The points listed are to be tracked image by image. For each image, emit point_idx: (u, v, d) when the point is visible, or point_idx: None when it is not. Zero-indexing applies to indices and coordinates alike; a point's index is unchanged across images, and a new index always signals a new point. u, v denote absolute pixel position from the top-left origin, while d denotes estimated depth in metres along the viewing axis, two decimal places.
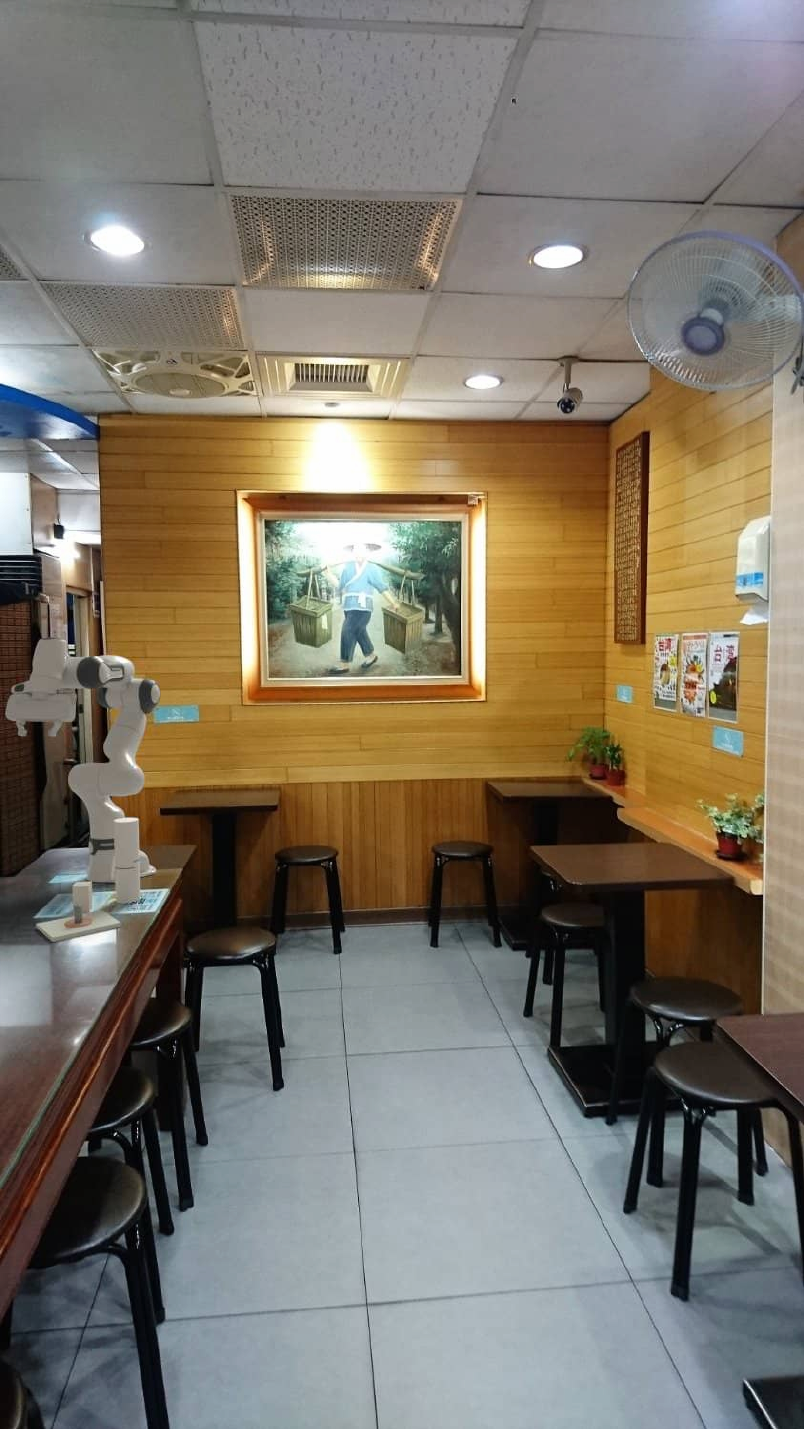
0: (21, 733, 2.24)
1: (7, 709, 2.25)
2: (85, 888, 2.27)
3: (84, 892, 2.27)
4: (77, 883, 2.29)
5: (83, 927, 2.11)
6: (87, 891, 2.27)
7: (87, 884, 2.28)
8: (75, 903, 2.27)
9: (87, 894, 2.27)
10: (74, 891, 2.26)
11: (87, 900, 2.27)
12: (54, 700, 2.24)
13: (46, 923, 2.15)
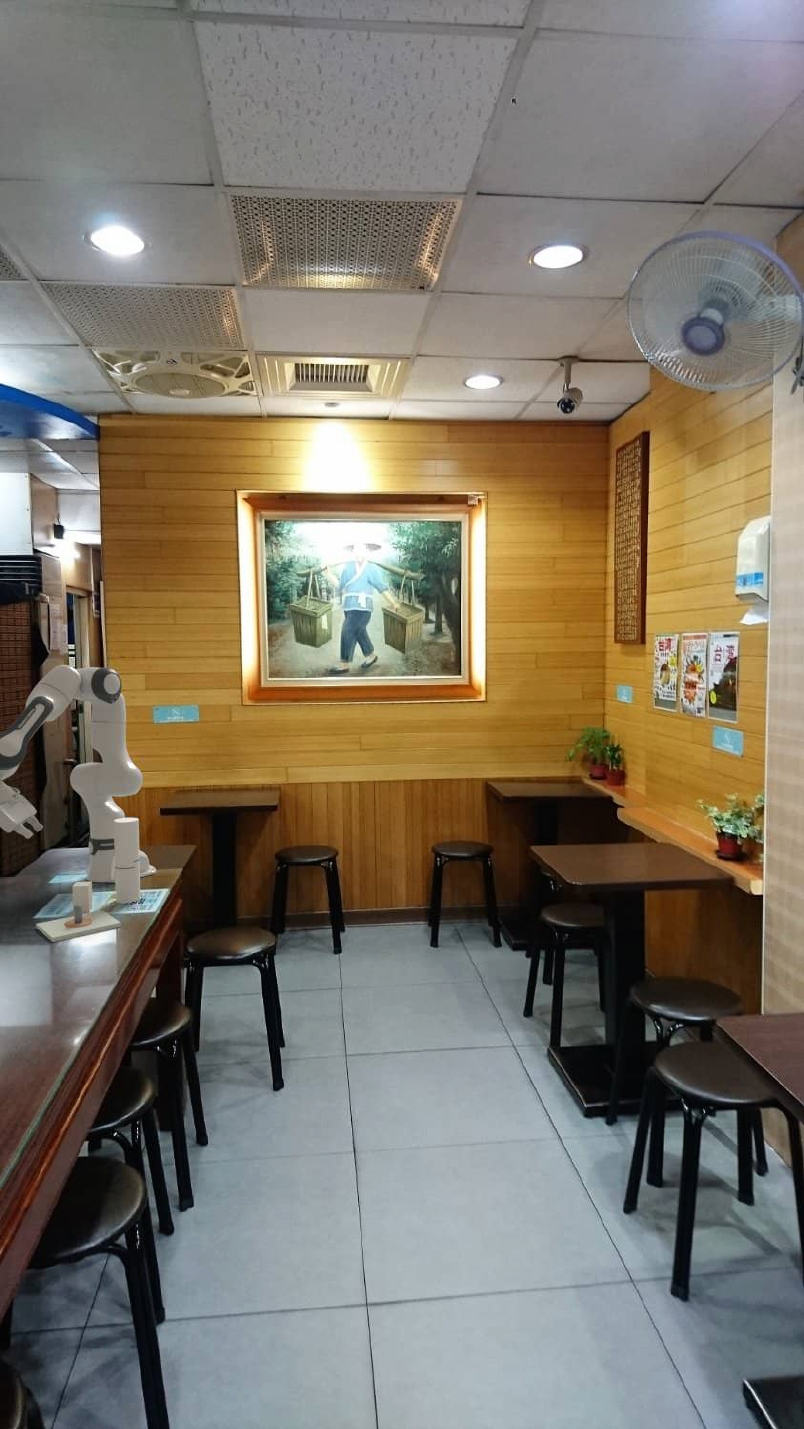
0: None
1: None
2: (85, 888, 2.27)
3: (84, 892, 2.27)
4: (77, 883, 2.29)
5: (83, 927, 2.11)
6: (87, 891, 2.27)
7: (87, 884, 2.28)
8: (75, 903, 2.27)
9: (87, 894, 2.27)
10: (74, 891, 2.26)
11: (87, 900, 2.27)
12: None
13: (46, 923, 2.15)
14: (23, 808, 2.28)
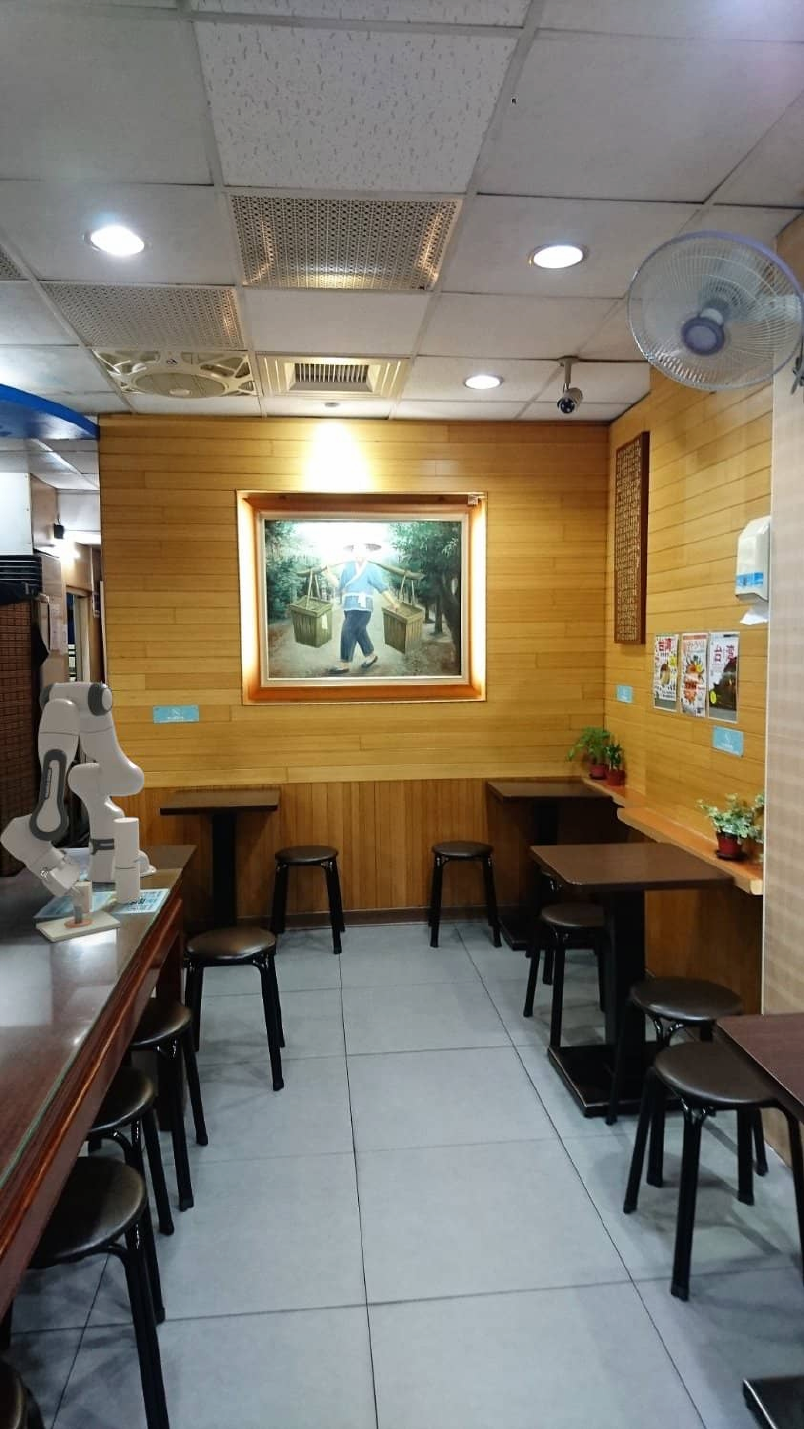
0: None
1: None
2: (85, 888, 2.27)
3: (84, 892, 2.27)
4: (77, 883, 2.29)
5: (83, 927, 2.11)
6: (87, 891, 2.27)
7: (87, 884, 2.28)
8: (75, 903, 2.27)
9: (87, 894, 2.27)
10: None
11: (87, 900, 2.27)
12: None
13: (46, 923, 2.15)
14: (72, 870, 2.31)
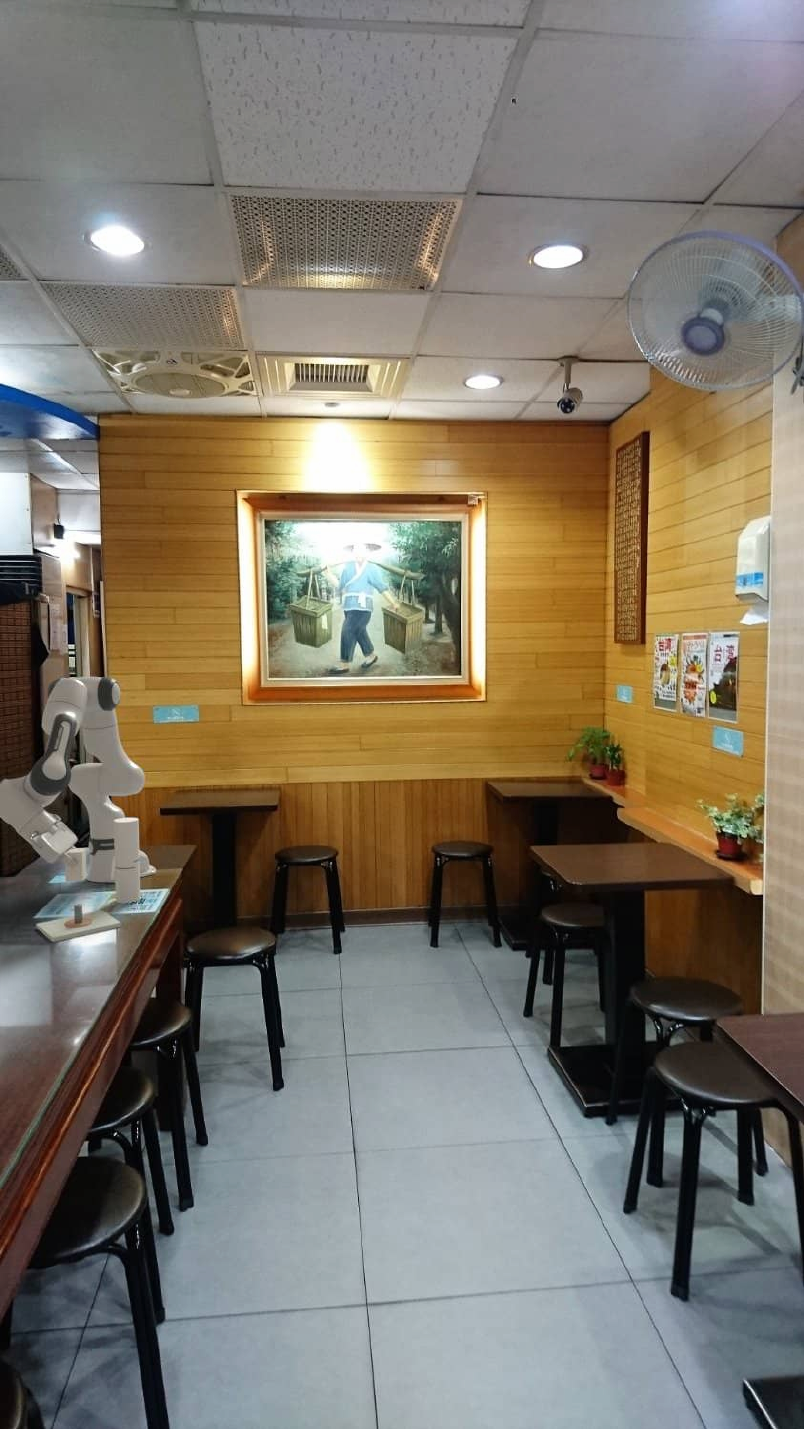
0: None
1: None
2: (78, 855, 2.12)
3: (77, 859, 2.12)
4: (70, 850, 2.14)
5: (83, 927, 2.11)
6: (80, 858, 2.12)
7: (81, 851, 2.13)
8: (67, 871, 2.12)
9: (80, 861, 2.12)
10: None
11: (80, 868, 2.12)
12: None
13: (46, 923, 2.15)
14: (65, 836, 2.16)
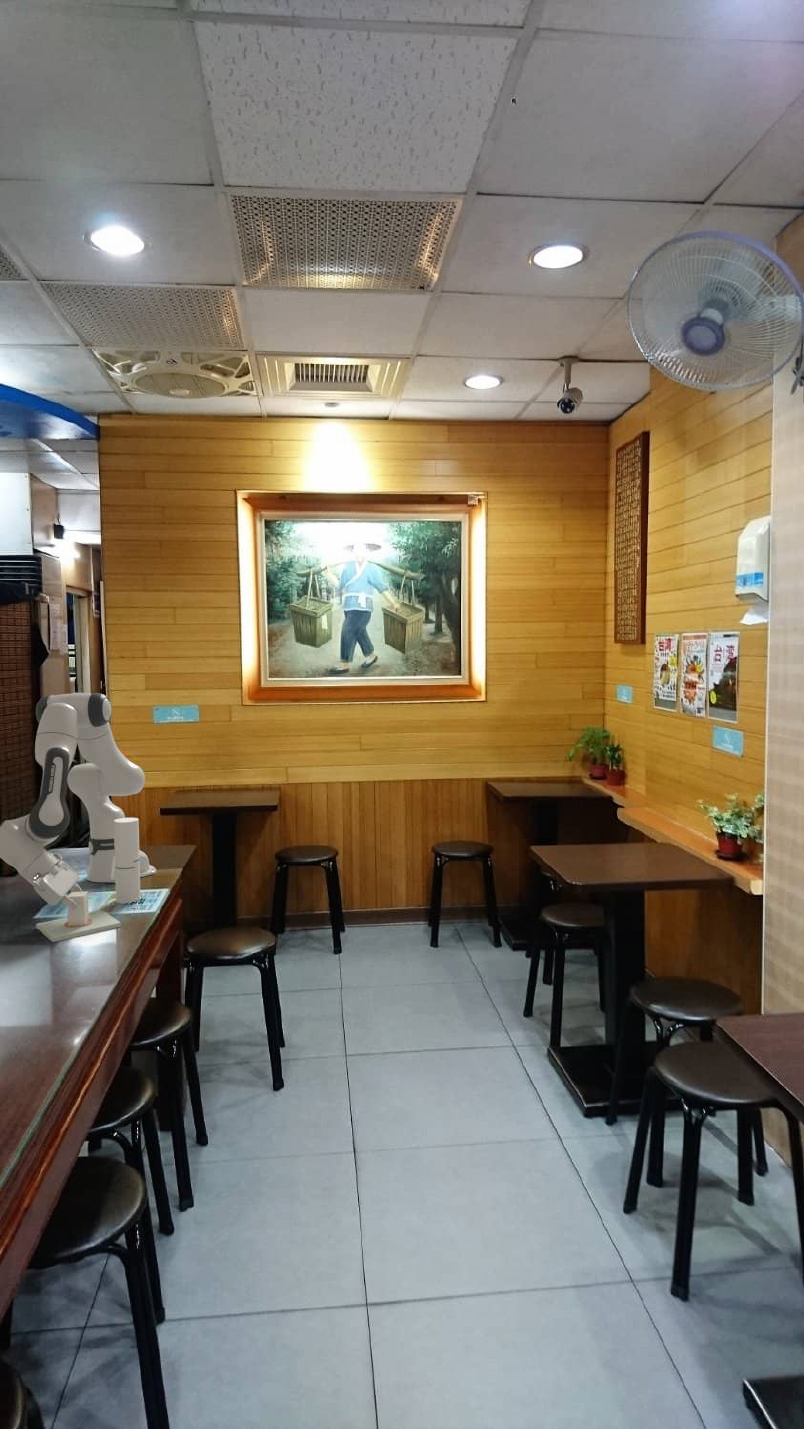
0: None
1: None
2: (81, 899, 2.12)
3: (80, 903, 2.12)
4: (72, 893, 2.15)
5: (83, 927, 2.11)
6: (83, 902, 2.13)
7: (83, 894, 2.14)
8: (70, 915, 2.12)
9: (83, 905, 2.13)
10: None
11: (83, 911, 2.13)
12: None
13: (46, 923, 2.15)
14: (67, 876, 2.17)
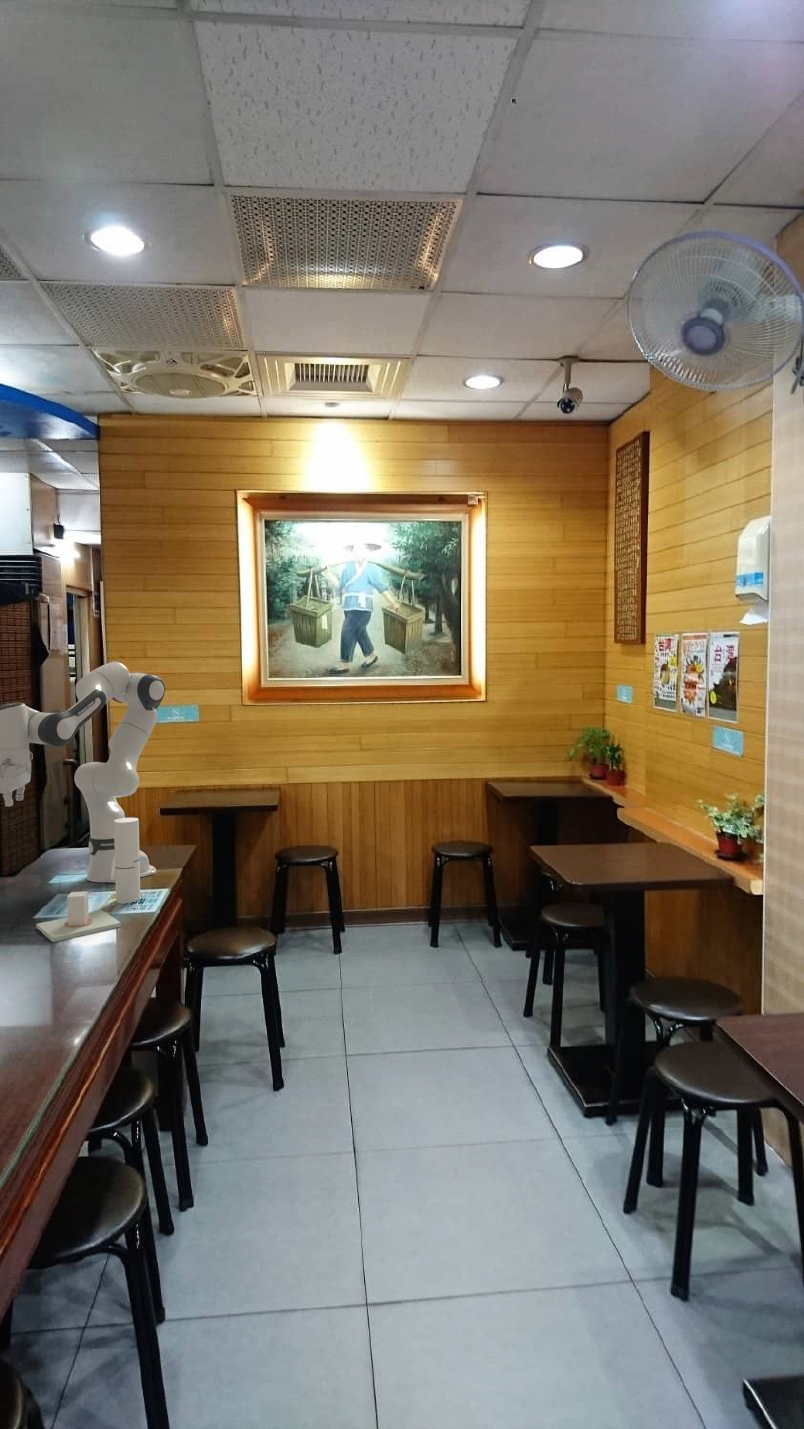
0: None
1: None
2: (81, 899, 2.12)
3: (80, 903, 2.12)
4: (72, 893, 2.15)
5: (83, 927, 2.11)
6: (83, 902, 2.13)
7: (83, 894, 2.14)
8: (70, 915, 2.12)
9: (83, 905, 2.13)
10: (69, 902, 2.12)
11: (83, 911, 2.13)
12: None
13: (46, 923, 2.15)
14: (23, 775, 2.35)
